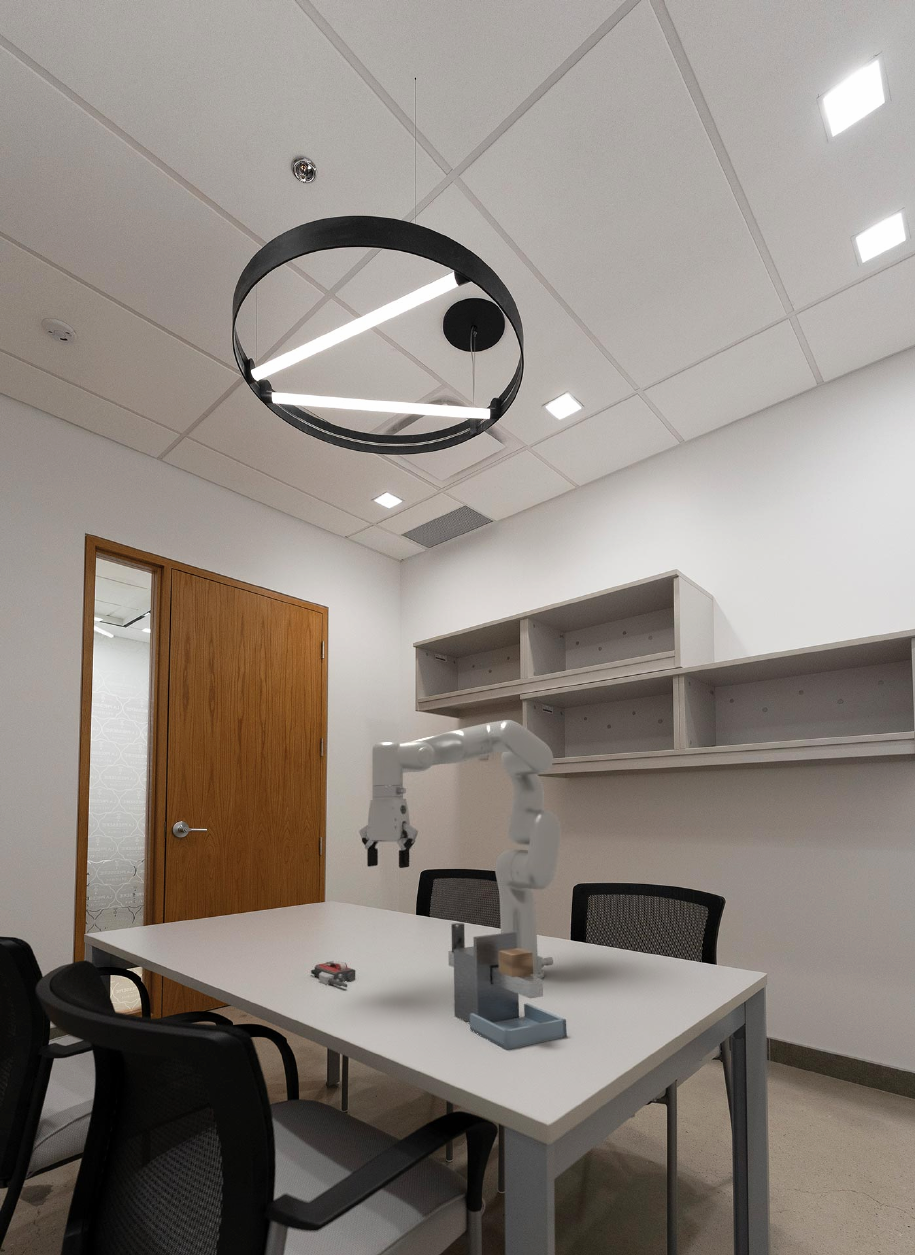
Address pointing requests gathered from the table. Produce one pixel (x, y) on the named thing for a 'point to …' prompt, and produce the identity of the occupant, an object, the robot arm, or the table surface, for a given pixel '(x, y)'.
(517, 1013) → the bracket
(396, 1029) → the table surface
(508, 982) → the steel shaft
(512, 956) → the block
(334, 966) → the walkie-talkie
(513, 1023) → the slate tray
